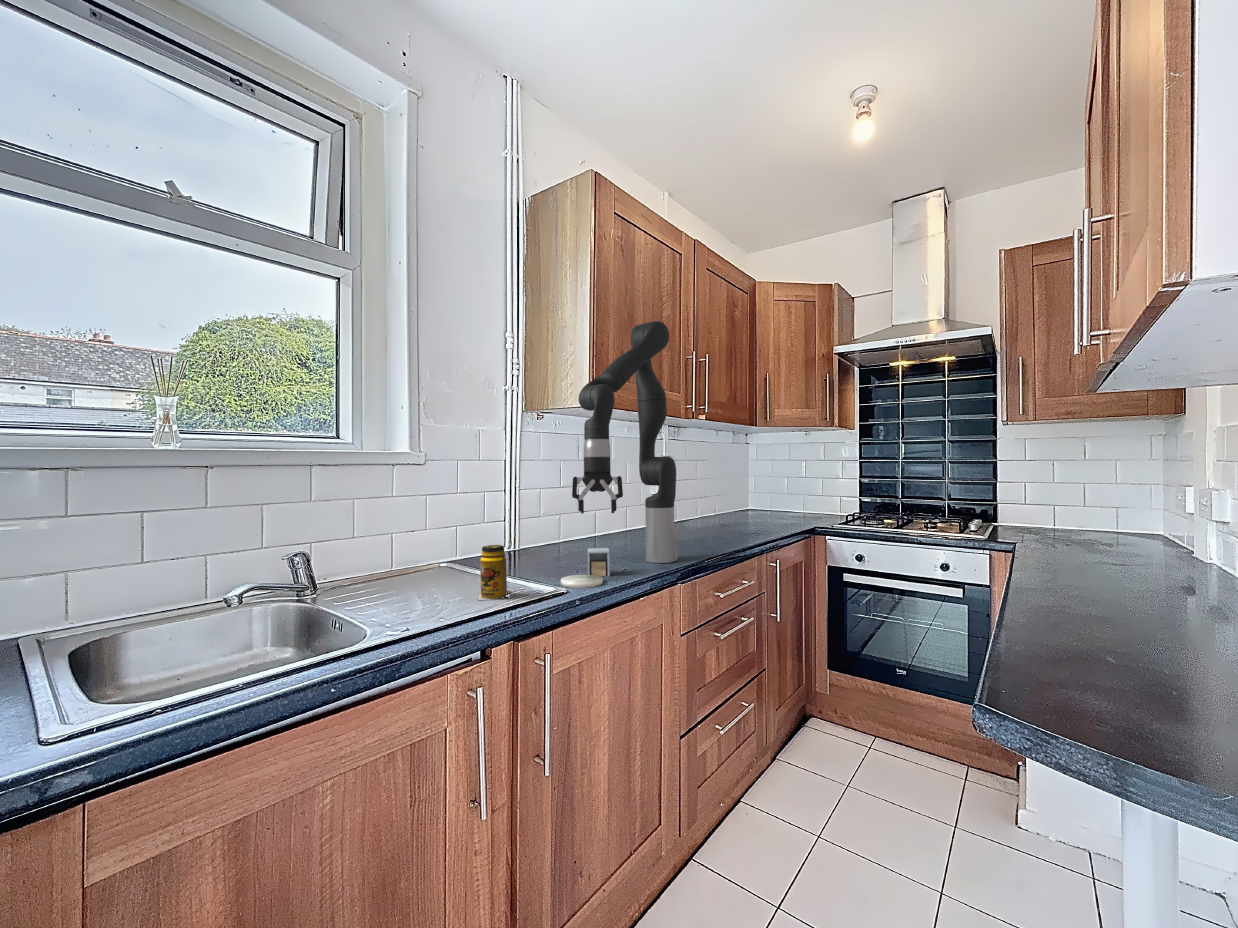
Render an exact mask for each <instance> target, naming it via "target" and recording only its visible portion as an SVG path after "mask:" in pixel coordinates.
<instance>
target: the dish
mask: <svg viewBox="0 0 1238 928" xmlns="http://www.w3.org/2000/svg"><path fill="white" fill-rule="evenodd" d="M603 583H604V578H603V576H596V575H591V574H590V575H588V574H572V575H567V576H564V577H561V578H560V586H562V587H564V588H571V589H572V588H573V589H586V588H587V589H589V588H595V587H599V586H601V585H603Z"/></svg>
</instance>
